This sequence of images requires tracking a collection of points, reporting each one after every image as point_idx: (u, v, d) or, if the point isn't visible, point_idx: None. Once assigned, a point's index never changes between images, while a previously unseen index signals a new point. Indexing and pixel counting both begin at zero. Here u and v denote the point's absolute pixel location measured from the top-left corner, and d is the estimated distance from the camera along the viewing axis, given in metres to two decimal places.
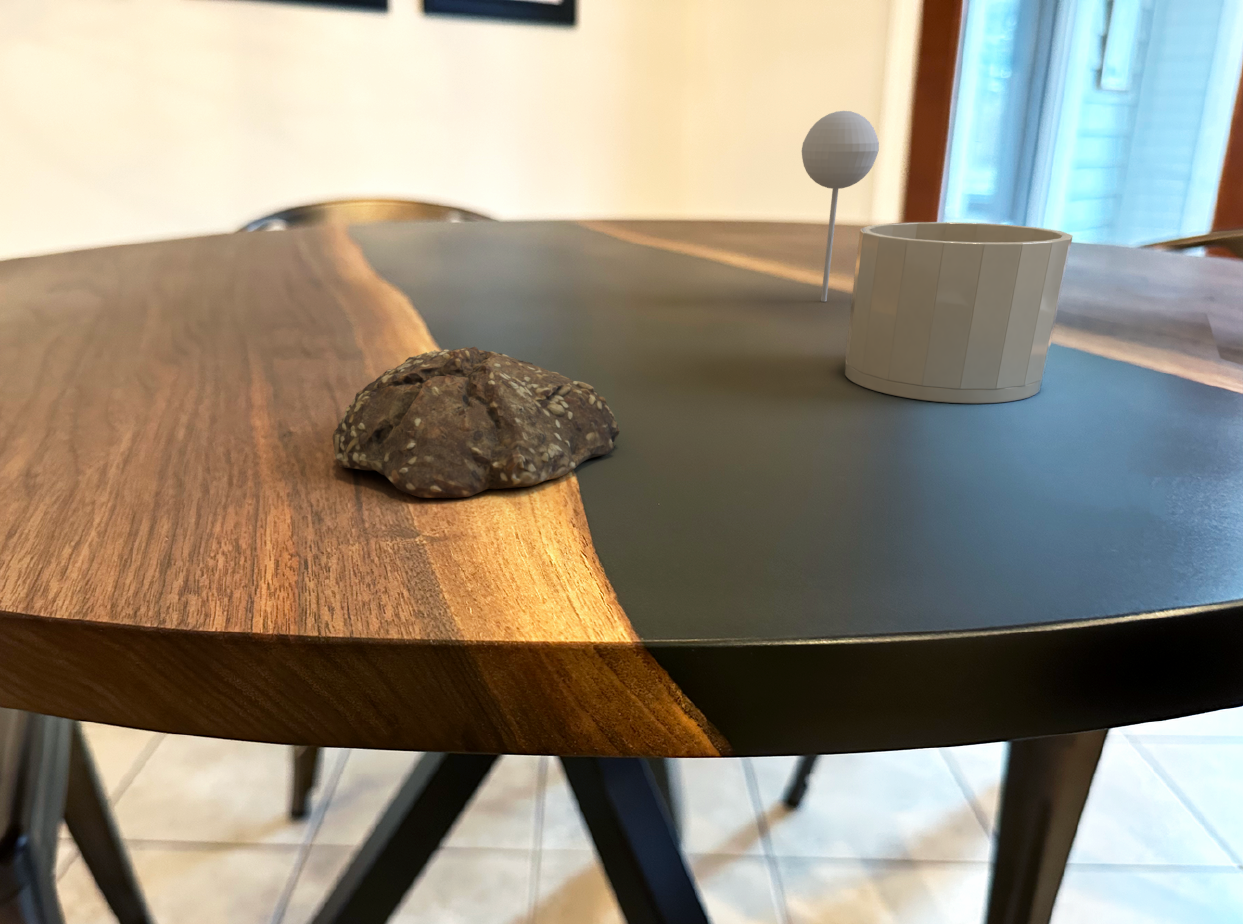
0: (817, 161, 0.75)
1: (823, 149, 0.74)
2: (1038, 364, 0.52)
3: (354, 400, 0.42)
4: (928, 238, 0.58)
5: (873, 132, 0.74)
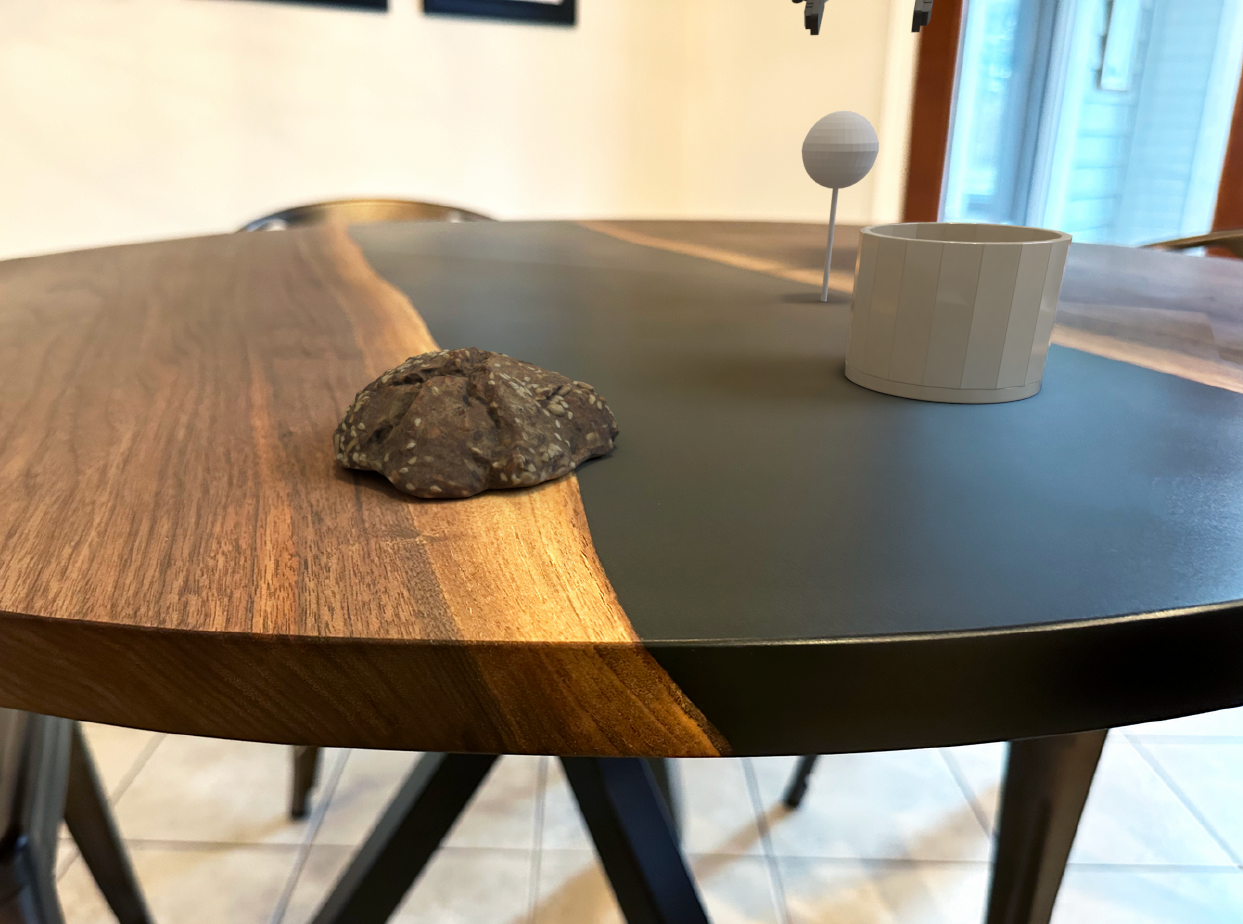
0: (817, 161, 0.75)
1: (823, 149, 0.74)
2: (1038, 364, 0.52)
3: (354, 400, 0.42)
4: (928, 238, 0.58)
5: (873, 132, 0.74)
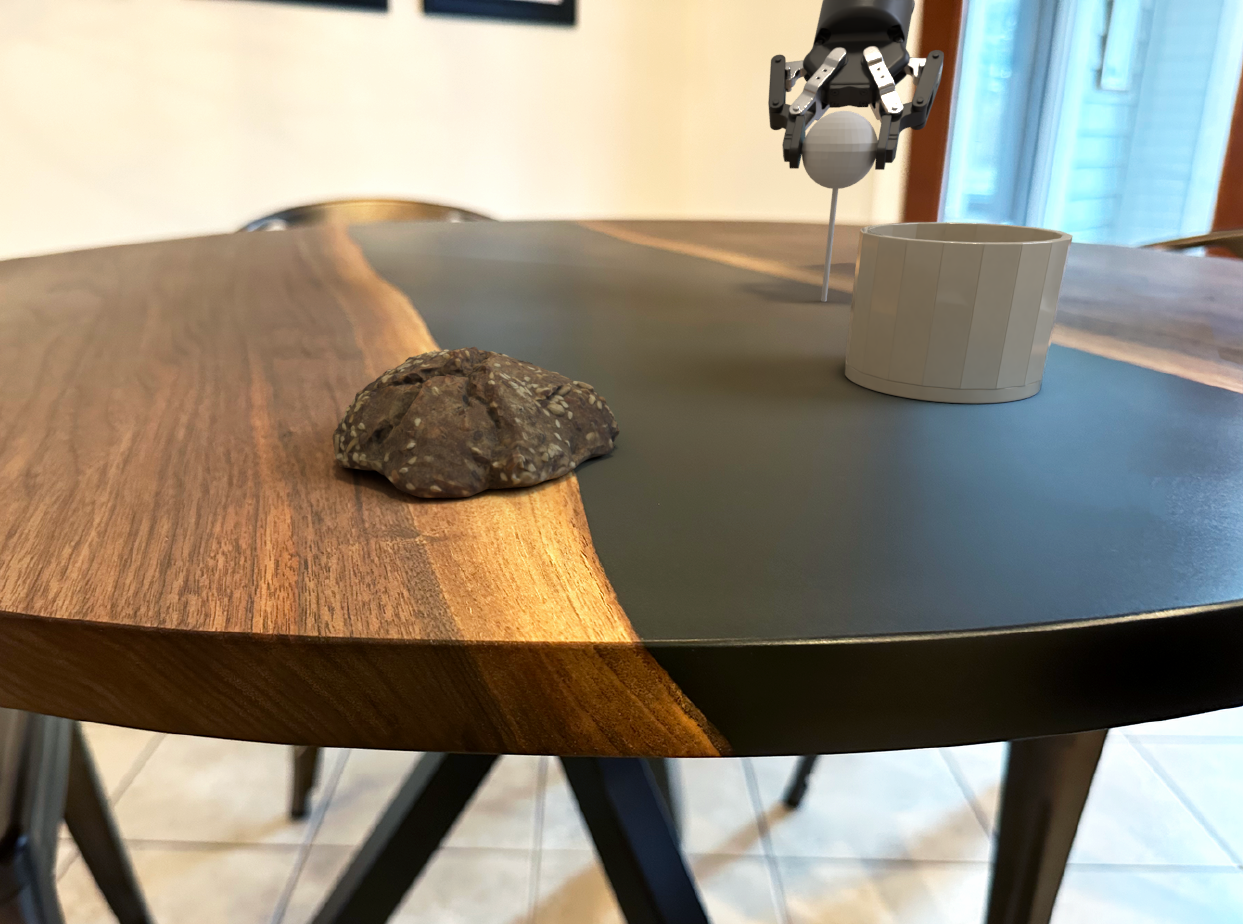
0: (817, 161, 0.75)
1: (823, 149, 0.74)
2: (1038, 364, 0.52)
3: (354, 400, 0.42)
4: (928, 238, 0.58)
5: (873, 132, 0.74)
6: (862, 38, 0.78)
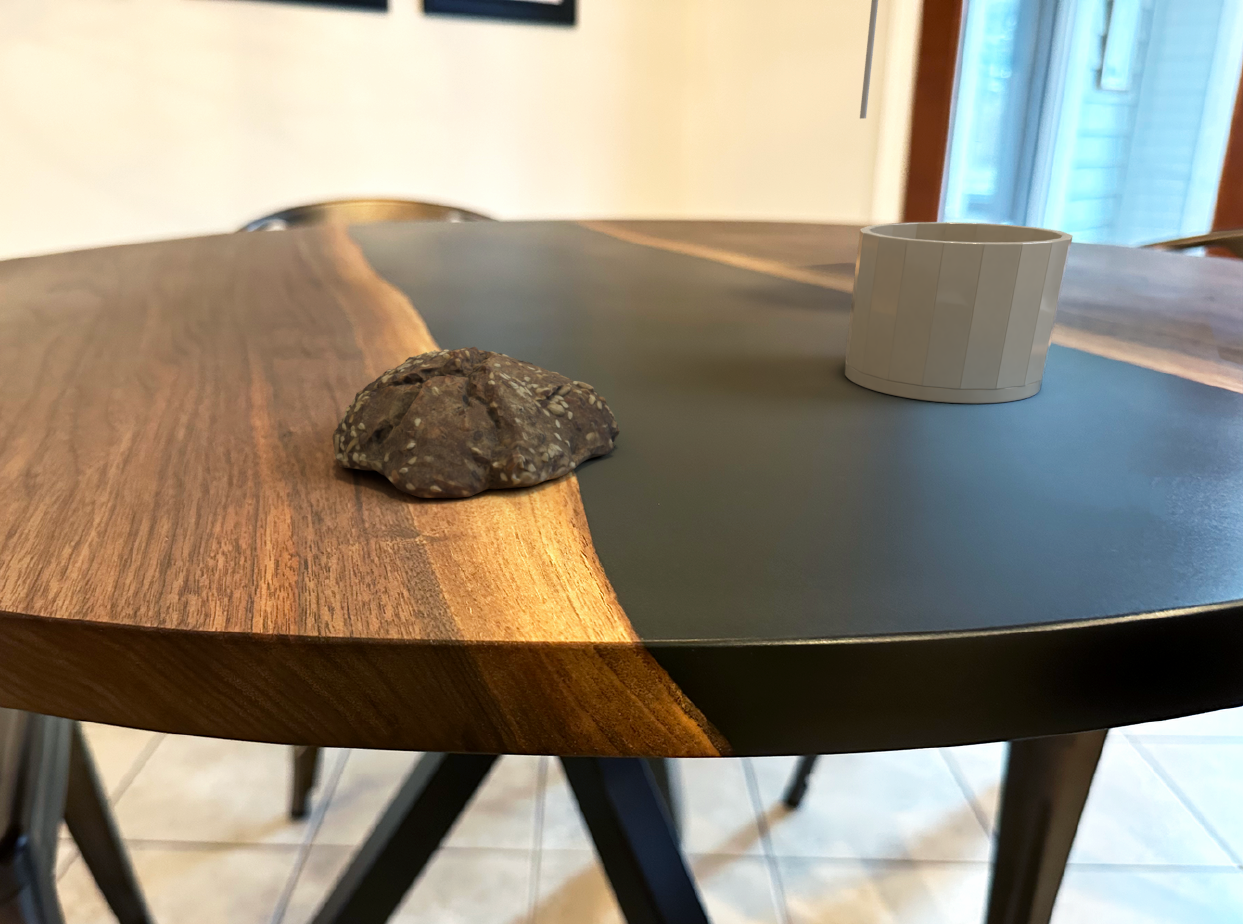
0: None
1: None
2: (1038, 364, 0.52)
3: (354, 400, 0.42)
4: (928, 238, 0.58)
5: None
6: None
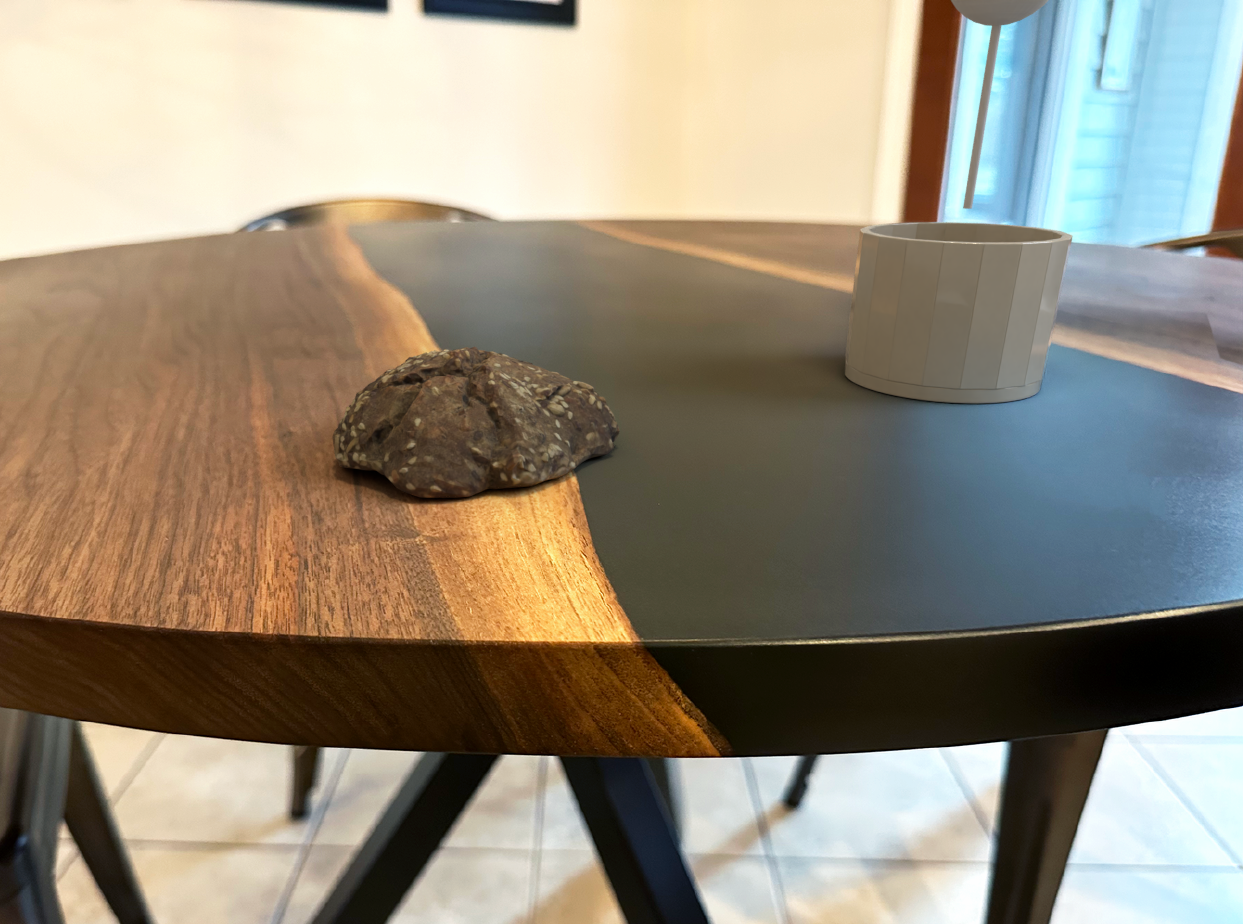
0: None
1: None
2: (1038, 364, 0.52)
3: (354, 400, 0.42)
4: (928, 238, 0.58)
5: None
6: None
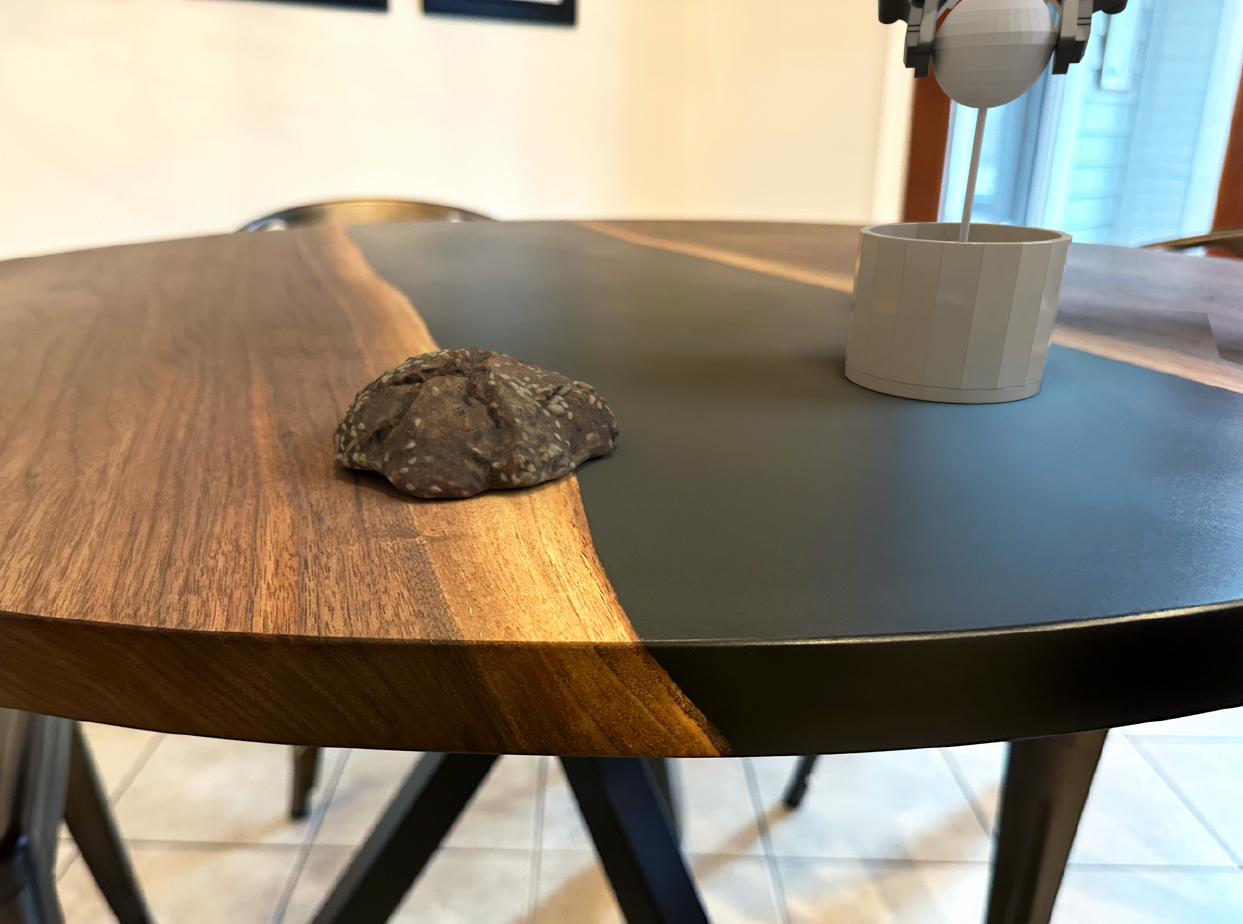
0: (963, 62, 0.48)
1: (974, 43, 0.48)
2: (1038, 364, 0.52)
3: (354, 400, 0.42)
4: (928, 238, 0.58)
5: (1050, 15, 0.48)
6: None
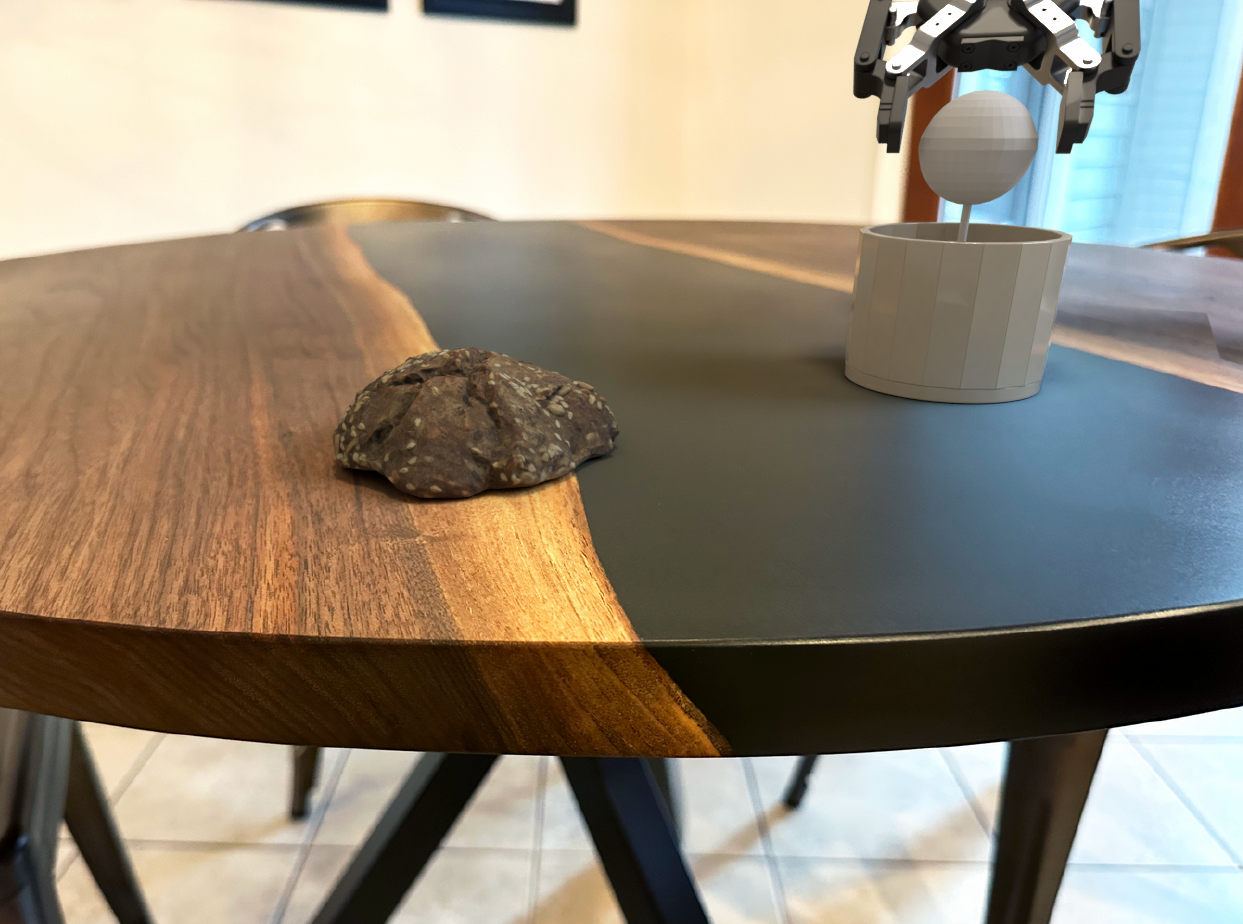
0: (948, 164, 0.50)
1: (958, 147, 0.50)
2: (1038, 364, 0.52)
3: (354, 400, 0.42)
4: (928, 238, 0.58)
5: (1032, 122, 0.50)
6: None
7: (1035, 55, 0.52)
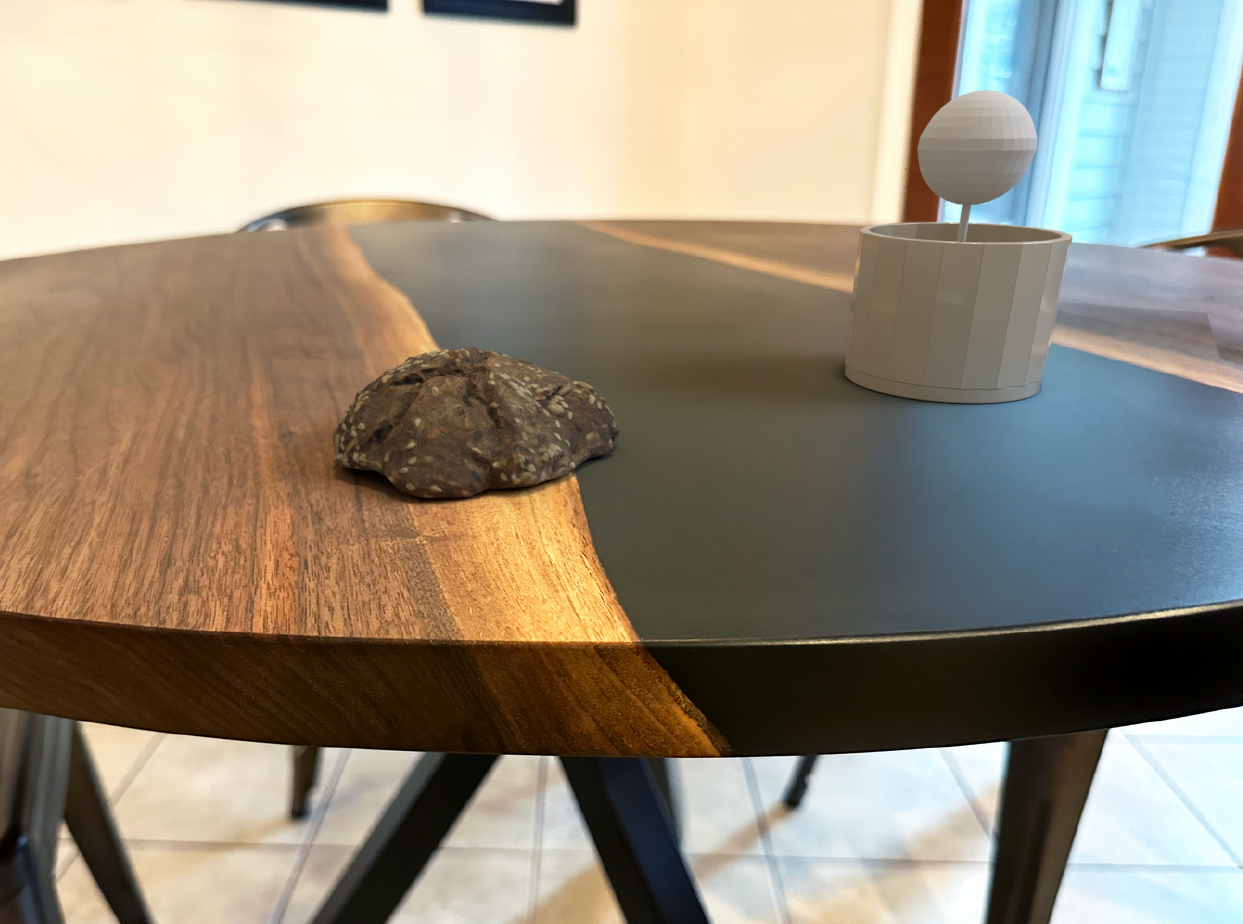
0: (947, 164, 0.50)
1: (958, 147, 0.50)
2: (1038, 364, 0.52)
3: (354, 400, 0.42)
4: (928, 238, 0.58)
5: (1031, 122, 0.50)
6: None
7: None
